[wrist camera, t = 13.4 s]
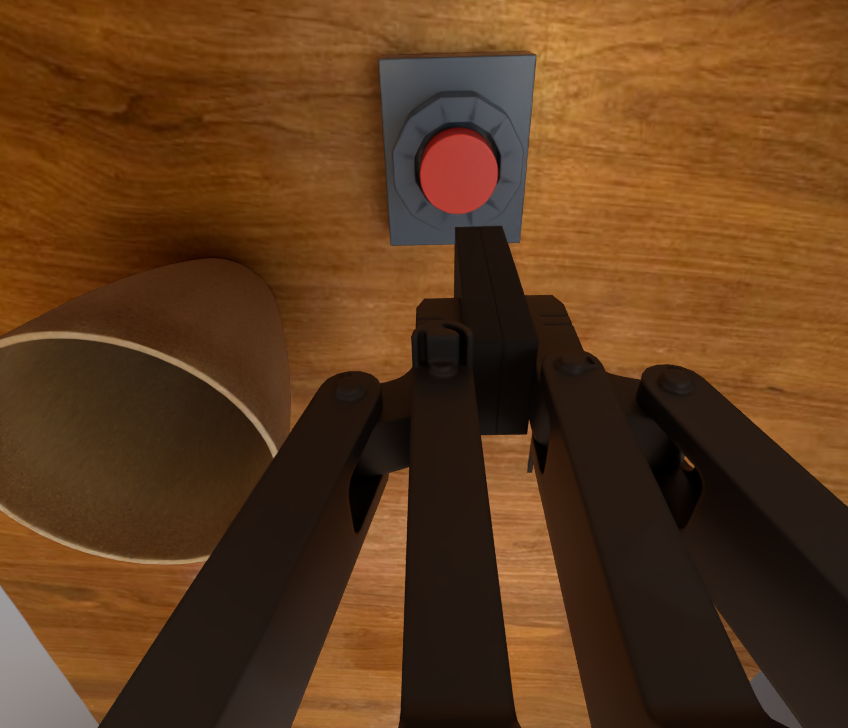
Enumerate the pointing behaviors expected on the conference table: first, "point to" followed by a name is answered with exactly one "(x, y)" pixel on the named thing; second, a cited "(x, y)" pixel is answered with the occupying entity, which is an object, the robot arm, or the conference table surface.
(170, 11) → the conference table surface
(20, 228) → the conference table surface
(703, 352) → the conference table surface
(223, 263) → the plant pot
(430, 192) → the button
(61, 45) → the conference table surface
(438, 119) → the button block
